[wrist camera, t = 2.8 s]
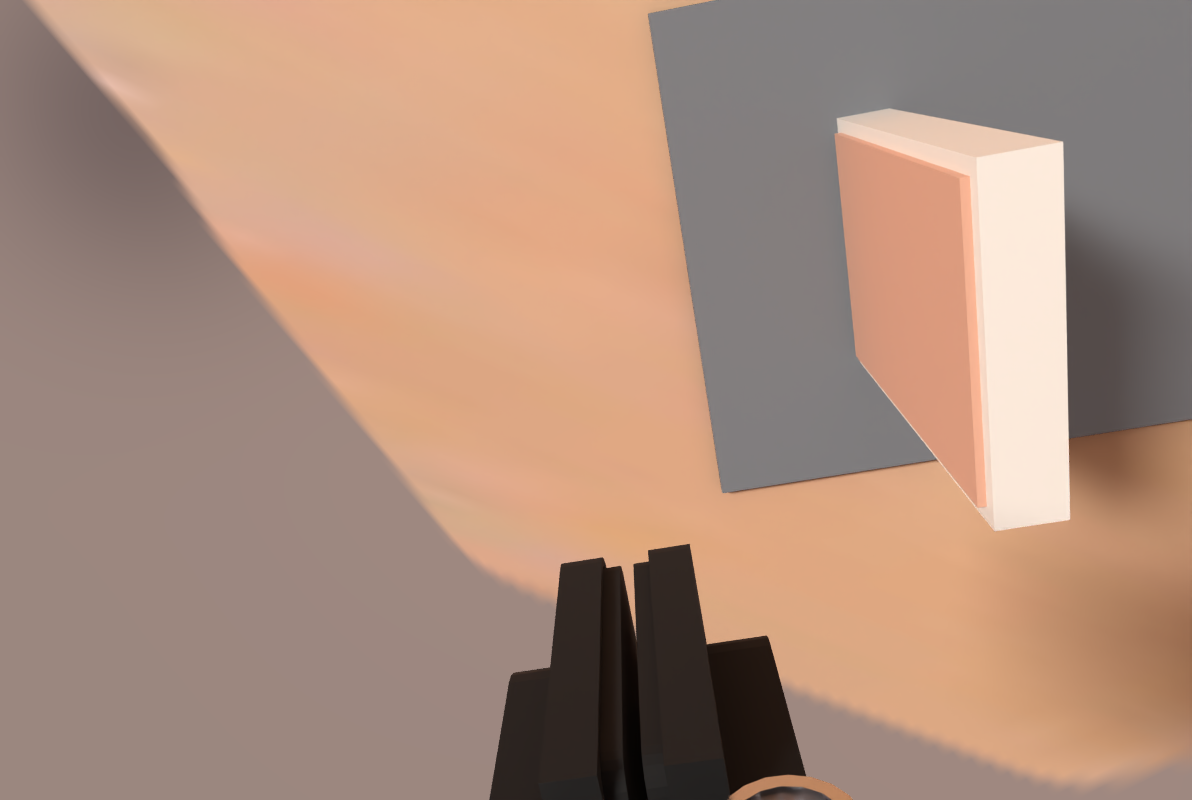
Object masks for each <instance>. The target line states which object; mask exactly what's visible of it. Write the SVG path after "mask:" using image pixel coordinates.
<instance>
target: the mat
mask: <svg viewBox="0 0 1192 800" xmlns="http://www.w3.org/2000/svg"><path fill="white" fill-rule="evenodd" d="M648 17H649V24H650V30H651V37H652V43H653V50H654V56H655V63H656V69H657V76H658V82H659V88H660V95H661V101H662V108H663V114H664V121H665V127H666V134H667V140H668V147H669V153H670V159H671V166H672V172H673V179H674V185H675V192H676V198H677V205H678V211H679V218H680V224H681V231H682V237H683V243H684V250H685V256H686V263H687V269H688V276H689V282H690V289H691V295H692V302H693V308H694V314H695V321H696V327H697V334H698V340H699V347H700V353H701V360H702V366H703V373H704V379H705V386H706V392H707V398H708V405H709V411H710V418H711V424H712V431H713V437H714V444H715V450H716V457H717V463H718V469H719V476H720V482H721V489H722V493H727V492H733V491H740V490H746V489H752V488H759V487H765V486H771V485H778V484H784V483H790V482H797V481H803V480H809V479H816V478H822V477H828V476H835V475H841V474H848V473H854V472H860V471H867V470H873V469H879V468H886V467H892V466H898V465H905V464H911V463H917V462H924V461H930V460H936V459H937V458H936V457H935V456H934V455H933V453H932V452H931V451H930V450H929V448H928V447H927V446H926V445H925V443H924V442H923V441H922V440H921V438H920V437H919V436H918V435H917V433H916V432H915V431H914V430H913V428H912V427H911V426H910V425H909V423H908V422H907V421H906V419H905V418H904V417H903V416H902V414H901V413H900V412H899V411H898V409H897V408H896V407H895V406H894V404H893V403H892V402H891V401H890V399H889V398H888V397H887V396H886V394H885V393H884V392H883V391H882V389H881V388H880V387H879V386H878V384H877V383H876V382H875V381H874V379H873V378H872V377H871V375H870V374H869V373H868V372H867V370H866V369H865V368H864V367H863V365H862V364H861V363H860V360H859V359H858V358H857V357H856V352H855V341H854V331H853V321H852V310H851V300H850V290H849V279H848V269H847V259H846V248H845V238H844V228H843V217H842V207H841V197H840V187H839V176H838V166H837V156H836V145H835V135H834V134H836V133H838V126H837V118H841V117H846V116H852V115H857V114H862V113H867V112H873V111H878V110H883V109H889V108H890V109H895V110H900V111H905V112H911V113H916V114H921V115H926V116H932V117H937V118H942V119H947V120H952V121H958V122H963V123H968V124H973V125H979V126H984V127H989V128H994V129H1000V130H1005V131H1010V132H1015V133H1020V134H1026V135H1031V136H1036V137H1041V138H1047V139H1052V140H1057V141H1062V142H1063V157H1064V212H1065V267H1066V322H1067V377H1068V432H1069V438H1076V437H1082V436H1088V435H1095V434H1101V433H1107V432H1114V431H1120V430H1126V429H1133V428H1139V427H1145V426H1152V425H1158V424H1164V423H1171V422H1177V421H1183V420H1190V419H1192V0H714V1H709V2H704V3H699V4H694V5H689V6H684V7H679V8H674V9H669V10H664V11H659V12H654V13H649V14H648Z"/></svg>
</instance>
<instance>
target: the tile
mask: <svg viewBox="0 0 1192 800" xmlns="http://www.w3.org/2000/svg"><path fill="white" fill-rule="evenodd" d="M837 126H838V133H836V134H834V135H835V145H836V156H837V166H838V176H839V187H840V197H841V207H842V217H843V228H844V238H845V248H846V259H847V269H848V279H849V290H850V300H851V310H852V321H853V331H854V341H855V352H856V357H857V358H858V359H859V360H860V363H861V364H862V365H863V367H864V368H865V369H866V370H867V372H868V373H869V374H870V375H871V377H872V378H873V379H874V381H875V382H876V383H877V384H878V386H879V387H880V388H881V389H882V391H883V392H884V393H885V394H886V396H887V397H888V398H889V399H890V401H891V402H892V403H893V404H894V406H895V407H896V408H897V409H898V411H899V412H900V413H901V414H902V416H903V417H904V418H905V419H906V421H907V422H908V423H909V425H910V426H911V427H912V428H913V430H914V431H915V432H916V433H917V435H918V436H919V437H920V438H921V440H922V441H923V442H924V443H925V445H926V446H927V447H928V448H929V450H930V451H931V452H932V453H933V455H934V456H935V457H936V458H937V460H938V461H939V462H940V463H941V465H942V466H943V467H944V468H945V470H946V471H947V472H948V474H949V475H950V476H951V477H952V479H953V480H954V481H955V482H956V484H957V485H958V486H959V487H960V489H961V490H962V491H963V492H964V494H965V495H966V496H967V497H968V499H969V500H970V501H971V502H972V504H973V505H974V506H975V507H976V509H977V510H978V511H979V512H980V514H981V515H982V516H983V518H984V519H985V520H986V521H987V523H988V524H989V525H990V526H991V528H992V529H993V530H994V531H999V530H1006V529H1012V528H1019V527H1026V526H1032V525H1039V524H1045V523H1052V522H1059V521H1065V520H1070V487H1069V432H1068V377H1067V322H1066V267H1065V212H1064V157H1063V142H1062V141H1057V140H1052V139H1047V138H1041V137H1036V136H1031V135H1026V134H1020V133H1015V132H1010V131H1005V130H1000V129H994V128H989V127H984V126H979V125H973V124H968V123H963V122H958V121H952V120H947V119H942V118H937V117H932V116H926V115H921V114H916V113H911V112H905V111H900V110H895V109H890V108H889V109H883V110H878V111H873V112H867V113H862V114H857V115H852V116H846V117H841V118H837Z"/></svg>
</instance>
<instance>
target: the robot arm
mask: <svg viewBox="0 0 1192 800" xmlns="http://www.w3.org/2000/svg"><path fill="white" fill-rule="evenodd" d="M648 556H649V562H643V563H636V564H634V588H635V612H636V636H637V641H636V636H635V631H634V626H633V621H632V616H631V611H630V606H629V601H628V596H627V591H626V586H625V581H624V576H623V571H622V568H621V566H617V567H611V568H606V564H605V561H604V559H603V558H596V559H590V560H583V561H577V562H570V563H564V564H561V568H560V578H559V587H558V597H557V607H556V616H555V627H554V636H553V646H552V656H551V665H550V668H543V669H537V670H530V671H523V672H516V673H513V674H512V675H511V678H510V681H509V686H508V692H507V699H506V705H505V710H504V716H503V722H502V728H501V734H500V740H499V746H498V752H497V758H496V764H495V770H494V776H493V782H492V789H491V794H490V800H853V799H852V798H851V797H850V796H849V795H848V794H846V793H845V792H843V791H841V790H840V789H838V788H837V787H835V786H834V785H832V784H830V783H827V782H824V781H821V780H818V779H815V778H812V777H806V774H805V770H804V767H803V763H802V759H801V755H800V752H799V748H798V745H797V741H796V737H795V733H794V730H793V726H792V723H791V719H790V715H789V711H788V708H787V704H786V700H785V697H784V693H783V689H782V686H781V682H780V678H779V674H778V671H777V667H776V663H775V660H774V656H773V652H772V649H771V645H770V642H769V639H768V637H767V636H761V637H754V638H747V639H740V640H734V641H727V642H720V643H713V644H707V643H706V638H705V632H704V626H703V620H702V614H701V608H700V602H699V596H698V591H697V585H696V579H695V573H694V567H693V561H692V555H691V550H690V544H686V545H680V546H673V547H667V548H660V549H654V550H648Z"/></svg>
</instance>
